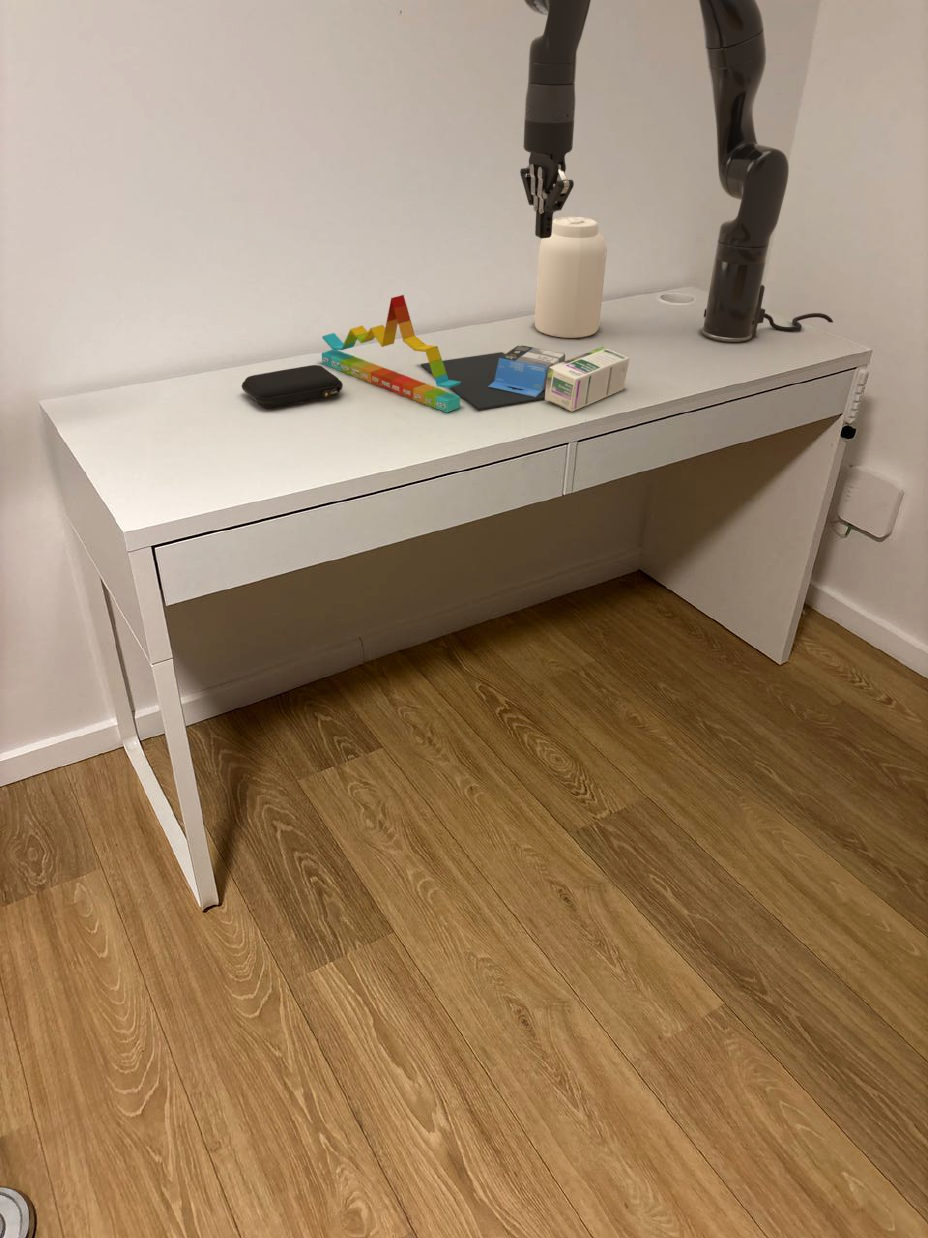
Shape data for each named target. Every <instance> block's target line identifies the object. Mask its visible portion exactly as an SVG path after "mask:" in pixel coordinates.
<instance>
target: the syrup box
mask: <svg viewBox="0 0 928 1238" xmlns="http://www.w3.org/2000/svg"><path fill="white" fill-rule="evenodd" d="M629 364H630V357H628V356H626V355H624V354H622V353H619V352H617V351H614V350H611V349H609V348H606V347H604V346H601V347H598V348H596V349H594V350H591V351H588V352H586V353H583V354H580V355H577V356H575V357H571V358H569V359H567V360H565V361H564V362H562V363H559V364H556V365H554V366H551V367H549V371H548V377H547V382H546V391H545V399H544V400H545V401H547V402H550V403H552V404H554V405H556V406H558V407H560V408H562V409H565V410H566V411H569V412H571V413H573V412H575V411H577V410H579V409H582V408H584V407H586V406H589V405H592V404H593V403H596V402H598V401H600V400H603V399H605V398H608V397H610V396H613V395H614V394H616V393H619V392H621V391H623V390H624V388H625V385H626V384H625V383H626V380H627V374H628V368H629Z"/></svg>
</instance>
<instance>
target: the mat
mask: <svg viewBox="0 0 928 1238" xmlns="http://www.w3.org/2000/svg"><path fill="white" fill-rule="evenodd" d="M505 354H506V353H504V352H503V351H500V352H494V353H488V354H487V353H486V354H480V355H473V356H466V357H460V358H459V357H458V358H452V359H445V360H442V361H443V364H444V367H445V370H446V373H447V376H448V379H449V380H452V381H460V382H461V384H459V385H456V386H453V387H450V388H449V389H450V390H451V391H453V393H454V394H456V395H458V396H460V398H461V399H462V400H464V401H465V402H466V403H468V404H469V405H470V406H471V407H473V408H474V409H476V410H477V411H484V410H485V411H486V410H491V409H496V408H503V407H508V406H514V405H521V404H527V403H532V402H538V401H543V400H545V391H546V389H544V390H543V391H541V392H540V393H539V394H538V395H537V396H536V397H532V396H528V395H523V394H518V393H514V392H509V391H505V390H500V389H496V388H491V387H488V386H489V385H491V384H492V383H493V382H494V380H495V375H496V370H497V366H498V361H499V358H500V357H502V356H503V355H505ZM420 366H421V368H423V369H424V370H425V371H427V372H428V373H429V374H431V375H432V376H433V373H432V370H431V367H430V364H429V362H425V363H421V364H420ZM508 388H512V389H513V390H516V389H517V390H523V389H519V388H514V387H508Z"/></svg>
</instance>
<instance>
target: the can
mask: <svg viewBox="0 0 928 1238" xmlns="http://www.w3.org/2000/svg"><path fill="white" fill-rule="evenodd" d="M599 230H600V229H599V224H598V222H597V220H594V219H593V218H589V217H585V216H574V215H573V216H571V215H569V216H562V217H556V218H555V219H553V220H552V234H551V237H550V238H541V240H540V243H539V248H538V261H537V262H538V263H537V279H536V295H535V312H534V326H535V329H536V330H537V331H538V332H540V333H542V334H545V335H547V336H552V337H554V338H555V337H556V338H561V339H562V338H563V339H577V338H579V339H580V338H586V337H590V336H592V335H594V334H596V333H597V332H598V331H599V329H600V322H601V313H602V305H603V304H602V303H603V293H604V283H605V274H606V273H605V272H606V265H607V264H606V262H607V254H608V250H607V248H608V247H607V243H606V242H607V241H606V239H605V238H604V236H602V234H601V233H600V232H599Z"/></svg>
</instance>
